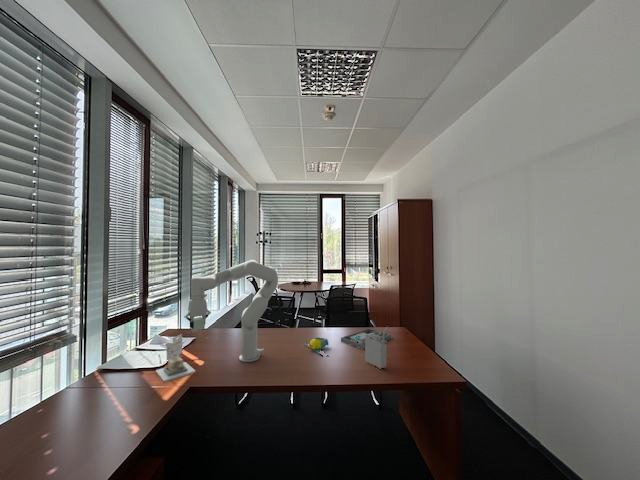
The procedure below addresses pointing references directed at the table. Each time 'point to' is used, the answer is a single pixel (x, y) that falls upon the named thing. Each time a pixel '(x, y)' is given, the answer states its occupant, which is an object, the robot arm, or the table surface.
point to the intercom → (361, 337)
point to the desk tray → (346, 338)
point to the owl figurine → (317, 344)
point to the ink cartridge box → (174, 347)
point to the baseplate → (168, 376)
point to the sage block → (198, 323)
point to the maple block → (175, 364)
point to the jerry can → (375, 349)
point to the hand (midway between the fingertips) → (197, 326)
